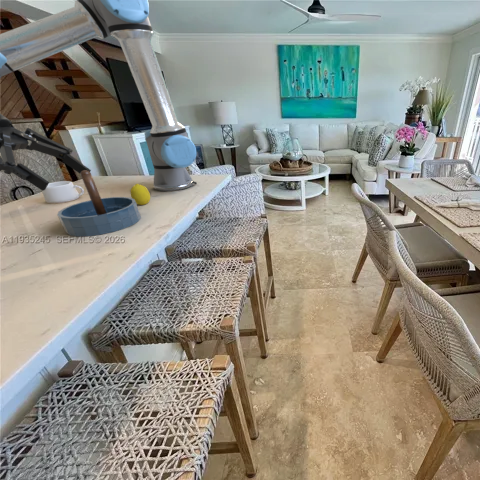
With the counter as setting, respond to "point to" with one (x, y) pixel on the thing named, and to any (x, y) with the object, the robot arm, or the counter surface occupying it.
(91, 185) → the brown wooden pestle
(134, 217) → the bowl
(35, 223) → the counter surface
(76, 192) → the mug
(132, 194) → the lemon
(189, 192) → the counter surface
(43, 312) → the counter surface
